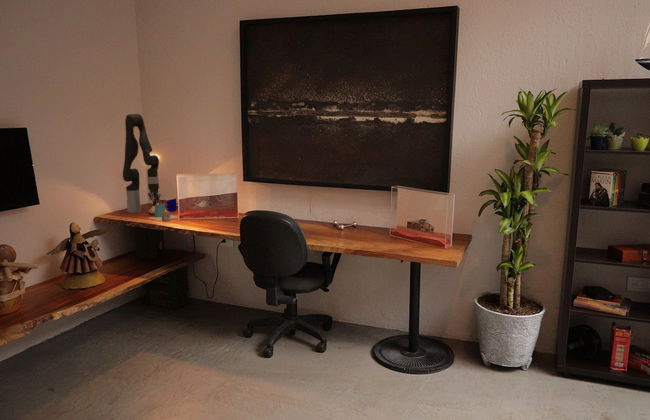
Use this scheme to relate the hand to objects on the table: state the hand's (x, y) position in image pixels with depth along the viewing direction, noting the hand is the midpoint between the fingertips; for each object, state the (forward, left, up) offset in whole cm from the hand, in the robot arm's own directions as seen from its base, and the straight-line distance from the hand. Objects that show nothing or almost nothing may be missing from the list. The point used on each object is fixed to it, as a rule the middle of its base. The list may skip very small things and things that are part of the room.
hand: (155, 206), depth 384 cm
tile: (+6, 0, -7) cm, 9 cm away
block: (+21, -6, -8) cm, 23 cm away
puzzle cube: (-6, +15, -8) cm, 18 cm away
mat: (+11, -1, -7) cm, 13 cm away
